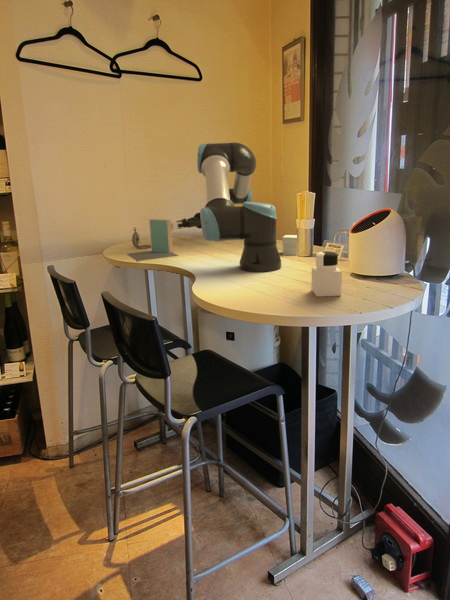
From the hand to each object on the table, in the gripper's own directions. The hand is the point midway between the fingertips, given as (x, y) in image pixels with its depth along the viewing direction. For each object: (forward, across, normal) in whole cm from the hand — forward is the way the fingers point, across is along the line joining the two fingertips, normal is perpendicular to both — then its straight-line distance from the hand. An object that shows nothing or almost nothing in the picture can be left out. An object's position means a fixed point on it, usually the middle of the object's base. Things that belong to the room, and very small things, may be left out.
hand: (172, 226), depth 209 cm
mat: (+15, -1, -10) cm, 18 cm away
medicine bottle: (+36, -88, -10) cm, 96 cm away
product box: (-13, -53, -10) cm, 55 cm away
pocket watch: (+4, +16, -11) cm, 20 cm away
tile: (+8, 0, -10) cm, 13 cm away
